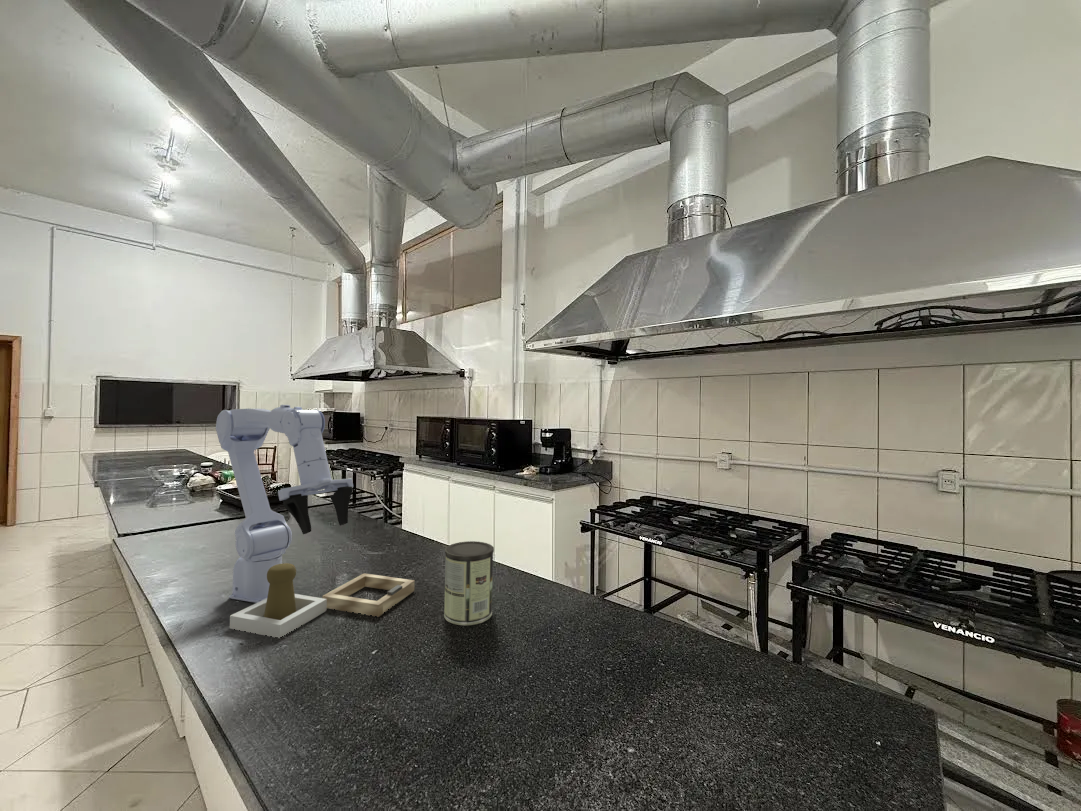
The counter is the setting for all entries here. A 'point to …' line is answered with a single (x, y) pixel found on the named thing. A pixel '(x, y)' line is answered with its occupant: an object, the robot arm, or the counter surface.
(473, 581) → the coffee can
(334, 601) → the wooden square frame
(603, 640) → the counter surface
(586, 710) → the counter surface
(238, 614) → the white picture frame
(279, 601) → the cork
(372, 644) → the counter surface
